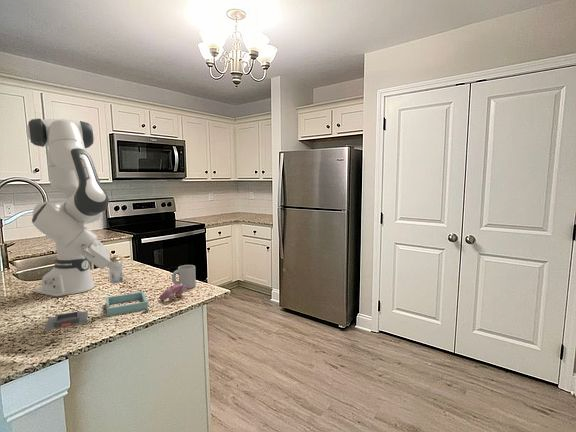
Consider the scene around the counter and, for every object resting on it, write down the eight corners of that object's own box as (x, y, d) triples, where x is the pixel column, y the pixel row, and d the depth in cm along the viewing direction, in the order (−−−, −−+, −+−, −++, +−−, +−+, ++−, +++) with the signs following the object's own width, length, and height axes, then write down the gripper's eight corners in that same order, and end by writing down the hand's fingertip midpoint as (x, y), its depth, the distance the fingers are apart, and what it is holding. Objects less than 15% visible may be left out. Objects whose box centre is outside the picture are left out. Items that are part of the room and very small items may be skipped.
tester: (44, 335, 96) (43, 327, 96) (49, 321, 105) (48, 314, 105) (87, 327, 102) (86, 319, 101) (88, 314, 111) (87, 307, 111)
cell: (107, 283, 110) (105, 257, 109) (115, 279, 114) (114, 255, 113) (117, 283, 110) (115, 258, 109) (125, 280, 113) (124, 255, 113)
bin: (107, 320, 106) (106, 309, 106) (106, 307, 117) (106, 297, 117) (148, 312, 113) (147, 301, 112) (143, 301, 124) (143, 291, 123)
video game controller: (164, 306, 123) (169, 292, 120) (157, 299, 125) (162, 285, 122) (184, 298, 131) (189, 285, 129) (178, 292, 133) (182, 278, 131)
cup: (196, 287, 139) (195, 268, 139) (172, 290, 136) (171, 270, 135) (195, 283, 146) (194, 264, 145) (172, 285, 142) (171, 266, 142)
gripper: (89, 240, 98) (126, 267, 104) (91, 231, 115) (123, 255, 121) (73, 256, 96) (111, 282, 102) (77, 245, 114) (110, 268, 119)
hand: (117, 267), depth 112 cm, fingers closed on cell, 4 cm apart
